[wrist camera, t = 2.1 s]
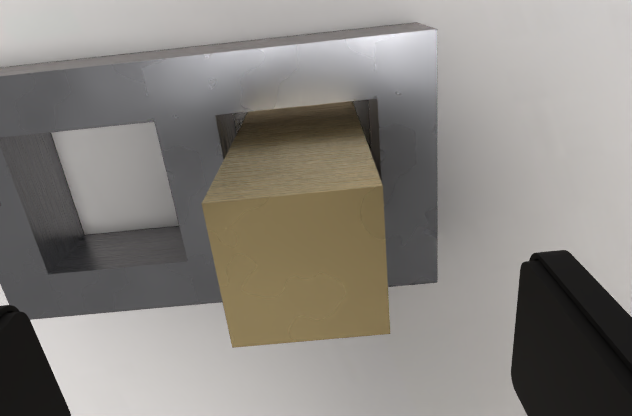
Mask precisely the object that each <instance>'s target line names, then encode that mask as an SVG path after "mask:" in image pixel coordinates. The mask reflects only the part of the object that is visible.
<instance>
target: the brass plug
mask: <svg viewBox="0 0 632 416" xmlns="http://www.w3.org/2000/svg"><path fill="white" fill-rule="evenodd" d="M202 208H203V213H204V217H205V222H206V227H207V231H208V236H209V241H210V245H211V250H212V255H213V259H214V264H215V269H216V273H217V278H218V283H219V287H220V292H221V297H222V301H223V306H224V311H225V315H226V320H227V325H228V329H229V334H230V339H231V343H232V348H233V347H244V346H255V345H267V344H278V343H290V342H301V341H313V340H324V339H335V338H347V337H358V336H370V335H381V334H390V320H389V300H388V280H387V260H386V239H385V219H384V199H383V185H382V182H381V180H380V177H379V174H378V171H377V168H376V166H375V163H374V160H373V157H372V155H371V152H370V149H369V146H368V144H367V141H366V138H365V135H364V132H363V130H362V127H361V124H360V121H359V119H358V116H357V113H356V110H355V108H354V105H353V102H352V101H348V102H338V103H328V104H319V105H309V106H299V107H290V108H280V109H270V110H261V111H251V112H248V113H247V115H246V117H245V119H244V121H243V123H242V125H241V127H240V129H239V131H238V133H237V135H236V137H235V139H234V141H233V143H232V145H231V147H230V149H229V151H228V153H227V154H226V156H225V158H224V160H223V162H222V164H221V166H220V168H219V170H218V172H217V174H216V176H215V178H214V180H213V182H212V184H211V186H210V188H209V190H208V192H207V194H206V196H205V198H204V200H203V202H202Z"/></svg>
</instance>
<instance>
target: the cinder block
mask: <svg viewBox="0 0 632 416" xmlns="http://www.w3.org/2000/svg"><path fill="white" fill-rule="evenodd" d="M367 99H368V105H369V122H370V139H371V155H372V157H373V160H374V163H375V166H376V168H377V171H378V174H379V177H380V180H381V182H382V185H383V199H384V219H385V239H386V260H387V280H388V287H393V286H404V285H415V284H426V283H437V29H435V28H432V27H429V26H426V25H423V24H420V23H417V22H416V23H407V24H398V25H389V26H379V27H370V28H361V29H352V30H342V31H333V32H324V33H315V34H306V35H296V36H287V37H278V38H269V39H259V40H250V41H241V42H232V43H222V44H213V45H204V46H195V47H185V48H176V49H167V50H158V51H149V52H139V53H130V54H121V55H112V56H102V57H93V58H84V59H75V60H65V61H56V62H47V63H38V64H29V65H19V66H10V67H1V68H0V284H1V286H2V289H3V291H4V293H5V296H6V298H7V300H8V303H9V305H12V306H15V307H16V308H18V309H19V311H20V312H24V313H25V314H27V316H28V317H29V319H30V320H31V319H42V318H53V317H64V316H75V315H86V314H96V313H107V312H118V311H129V310H140V309H151V308H162V307H173V306H184V305H195V304H206V303H217V302H223V301H222V297H221V292H220V287H219V283H218V278H217V273H216V269H215V264H214V259H213V255H212V250H211V245H210V241H209V236H208V231H207V227H206V222H205V217H204V213H203V208H202V202H203V200H204V198H205V196H206V194H207V192H208V190H209V188H210V186H211V184H212V182H213V180H214V178H215V176H216V174H217V172H218V170H219V168H220V166H221V164H222V162H223V160H224V158H225V156H226V154H227V153H228V151H229V149H230V147H231V145H232V143H233V141H234V139H235V137H236V135H237V134H236V129H235V123H234V117H233V113H242V112H251V111H261V110H270V109H280V108H290V107H299V106H309V105H319V104H328V103H338V102H348V101H357V100H367ZM145 122H155V126H156V130H157V134H158V138H159V143H160V147H161V151H162V155H163V159H164V163H165V168H166V172H167V176H168V180H169V184H170V189H171V193H172V197H173V201H174V205H175V209H176V214H177V218H178V222H179V226H176V227H166V228H155V229H145V230H135V231H124V232H114V233H103V234H93V235H84V233H83V230H82V227H81V224H80V221H79V218H78V215H77V212H76V209H75V206H74V203H73V200H72V197H71V194H70V191H69V188H68V185H67V182H66V179H65V176H64V173H63V170H62V167H61V164H60V161H59V158H58V155H57V152H56V149H55V146H54V142H53V139H52V136H51V133H50V132H58V131H68V130H77V129H87V128H97V127H106V126H116V125H126V124H135V123H145Z"/></svg>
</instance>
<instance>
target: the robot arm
mask: <svg viewBox="0 0 632 416" xmlns="http://www.w3.org/2000/svg"><path fill="white" fill-rule="evenodd" d="M511 377H512V383H513V386H514V389H515V391H516V394H517V396H518V398H519V400H520V401H521V403H522V405H523V407H524V409H525V411H526V413H527V415H528V416H632V317H631V316H630V315H629V314H628V313H627V312H626V311H625V310H624V309H623V308H622V307H621V306H620V305H619V304H618V303H617V301H616V300H615V299H614V298H613V297H612V296H611V295H610V294H609V293H608V292H607V291H606V290H605V289H604V288H603V287H602V286H601V285H600V284H599V283H598V282H597V281H596V280H595V278H594V277H593V276H592V275H591V274H590V273H589V272H588V271H587V270H586V269H585V268H584V267H583V266H582V265H581V264H580V263H579V262H578V261H577V260H576V259H575V258H574V257H573V256H572V254H571V253H569V252H568V251H566V250H560V251H550V252H540V253H534V254H532V255H531V257H530V260H529V261H528V262H523V263H522V265H521V269H520V279H519V290H518V301H517V312H516V323H515V334H514V345H513V356H512V366H511ZM0 416H71V414H70V411H69V409H68V406H67V404H66V402H65V399H64V397H63V395H62V393H61V390H60V388H59V386H58V383H57V381H56V379H55V377H54V374H53V372H52V370H51V367H50V365H49V363H48V361H47V358H46V356H45V354H44V351H43V349H42V347H41V344H40V342H39V340H38V338H37V335H36V333H35V331H34V328H33V326H32V324H31V322H30V319H29V317H28V316H27V314H25V313H24V312H20V311H19V309H18V308H16V307H15V306H12V305H5V306H0Z"/></svg>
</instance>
